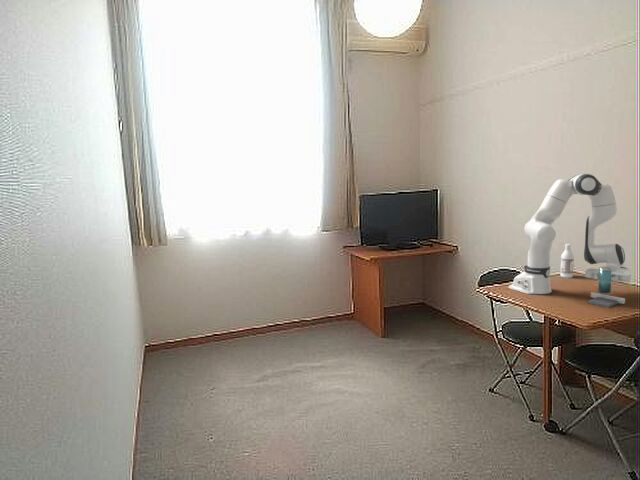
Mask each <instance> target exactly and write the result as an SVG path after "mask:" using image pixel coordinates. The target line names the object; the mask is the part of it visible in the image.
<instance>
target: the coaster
mask: <svg viewBox="0 0 640 480" xmlns="http://www.w3.org/2000/svg"><path fill="white" fill-rule="evenodd" d="M587 304H590V305H595V306H598V307H599V306H600V307H604V308H612V307H614V306H615V305H618V304H619V303H618V301H616V300H611V299H606V298H600V297H596V298H591V299H590V300H587Z"/></svg>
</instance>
